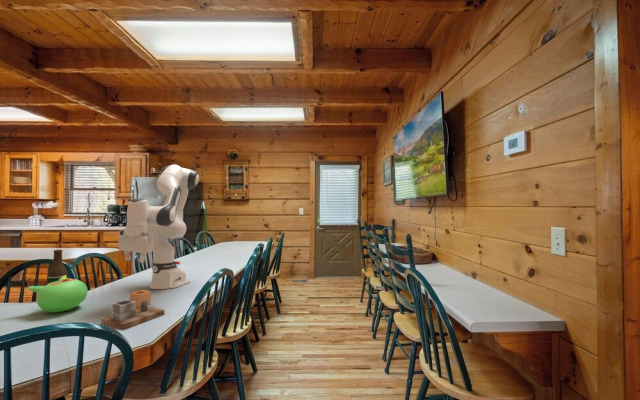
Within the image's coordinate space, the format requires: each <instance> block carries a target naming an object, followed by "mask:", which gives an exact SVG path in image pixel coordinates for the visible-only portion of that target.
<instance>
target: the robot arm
mask: <svg viewBox="0 0 640 400" xmlns="http://www.w3.org/2000/svg"><path fill="white" fill-rule="evenodd" d="M199 181H200V174H199V172H198V171H196V170H193V169H189V168H184V167H181V166H180V165H178V164H170V165H165V166H164V167H162V168H161V170H160V175H159V177H158V178H157V180H156V188H157V190H158V191H159V192H160V193H161V194H163V196H166V198H165V200H164V202H163V205H161V206H160V205H159V206H158V205H150V204H149V202H148V199H146V198H133V199H132V198H131V199H130V200H129V202H128V203H127V209H126V219H127V221H126V222H127V223H126V226H125V228H123V229H121V230H119V231H118V236H119V237H118V240H117V241H118V243H117V244H118V246H117V248H118V251H120V252H121V251H122V252H123V253H124V256H125V261H127V262H130V261H131V260H132V256H131V255H130V253H140V258H138V263H141V264H142V263H145V259H146V256H147V255H148V254H150V253H151V254H152V253H153V254H152V263H151V264H152V265H151V268H152V275H151V281H150V284H149V289H153V290H166V289H176V288H178V287H181V286H184V285H186V284H189V283H191V280H190V279H189V278H187V275H186V272H185V271H184V270H182V269H180V268H179V267H178V266H179V265H181V261H178V260H177V261H175V247H174V246H173V245H172V244H171V243H170V242H169V240H168V239H180V238H182V237H184V236H185V234H186V232H187V224H186V223H185V221H183V218H182V216H183V211H184V207H185V205H186V202H187V199H188V195H189V191H191V190H192V189H194V188H195V187H196V186H198V183H199Z"/></svg>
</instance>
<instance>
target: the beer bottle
mask: <svg viewBox="0 0 640 400" xmlns="http://www.w3.org/2000/svg"><path fill="white" fill-rule="evenodd" d="M63 263H64V262H63V249H55V250H53V259H52V266H51V267H50V268H49V270H48V272H47V284H49V283H51V282H54V281H57V280H59V279H60V278H61V277H62V276H64V275H66V277H67V278H68V270H67V269H66V267H65V266H64V264H63Z"/></svg>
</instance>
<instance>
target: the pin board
mask: <svg viewBox="0 0 640 400" xmlns="http://www.w3.org/2000/svg"><path fill="white" fill-rule="evenodd" d="M163 315H165V309H162V308H157V307H154V306H148V305H147V301H141V306H139V307H136V302H135V301H130V299H124V300H120V301H117V302H113V303H111V314H110V315H107V316H105V317H102V318H100V324H101V323H104V324H103V325H105V326H109V325H110V326H109V327H113V328H117V329H121V330H126V329H129V328H133V327H134V326H137V325H140V324H143V323H146V322H147V321H151V320H154V319H156V318H158V317H162V316H163Z"/></svg>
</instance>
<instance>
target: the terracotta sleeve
mask: <svg viewBox="0 0 640 400" xmlns="http://www.w3.org/2000/svg"><path fill="white" fill-rule="evenodd" d="M129 300H130V301H135V302H136V307H139V306H141V301H147V306H148V305H150V304H151V291H149V290H145V289H140V290H136V291H133V292H130V293H129Z"/></svg>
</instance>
